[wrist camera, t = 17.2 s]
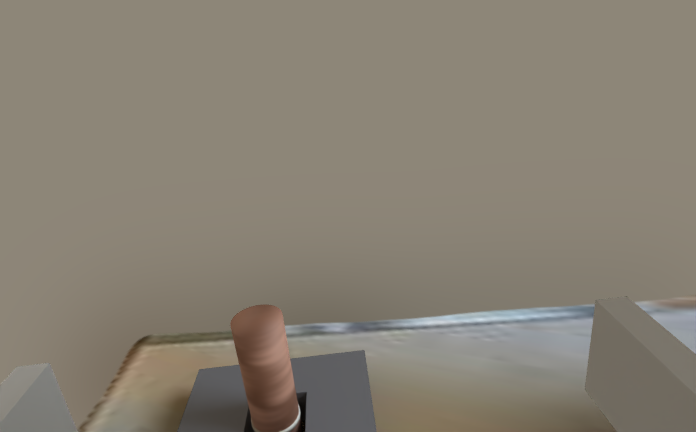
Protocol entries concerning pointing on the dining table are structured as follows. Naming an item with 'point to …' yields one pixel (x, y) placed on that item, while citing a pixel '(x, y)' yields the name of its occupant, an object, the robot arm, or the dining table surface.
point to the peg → (266, 369)
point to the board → (311, 389)
